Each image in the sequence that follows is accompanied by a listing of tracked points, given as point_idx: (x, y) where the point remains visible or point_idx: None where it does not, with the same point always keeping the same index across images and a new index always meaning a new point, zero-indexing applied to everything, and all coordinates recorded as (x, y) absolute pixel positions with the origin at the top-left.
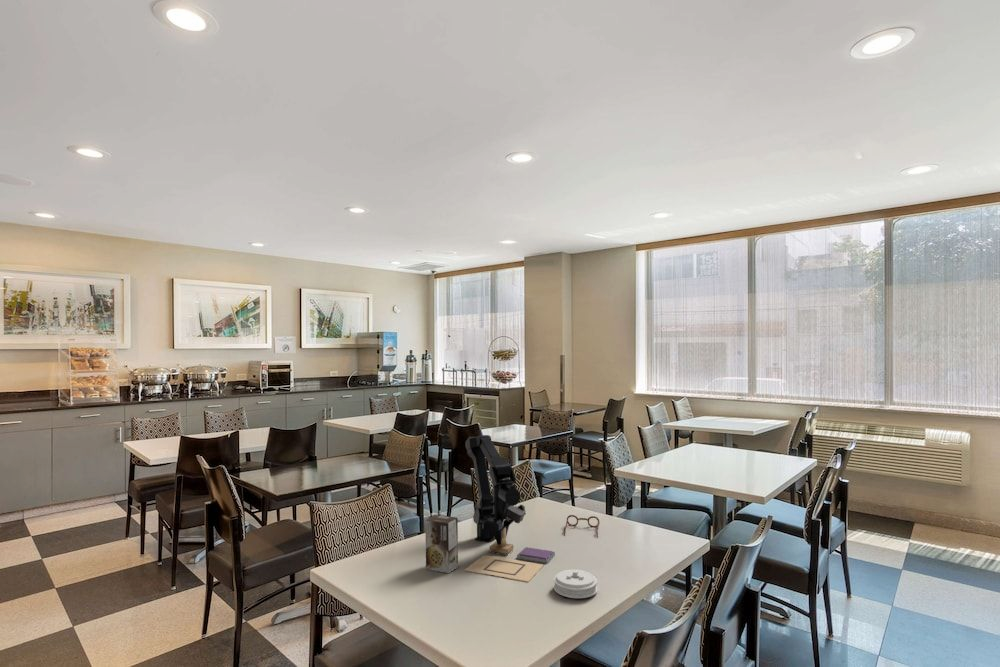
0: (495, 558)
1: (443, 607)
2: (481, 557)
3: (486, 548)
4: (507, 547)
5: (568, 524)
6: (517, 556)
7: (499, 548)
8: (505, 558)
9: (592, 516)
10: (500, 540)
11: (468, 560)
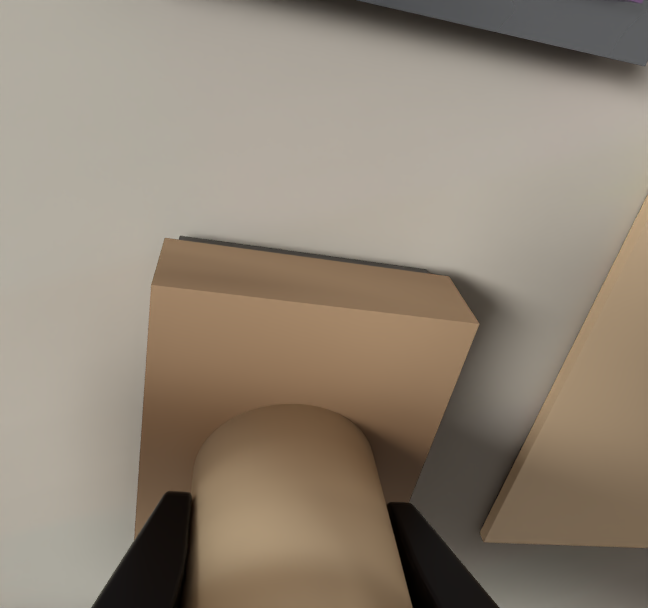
0: (615, 395)
1: None
2: (571, 539)
3: None
4: (374, 354)
5: None
6: (637, 41)
7: (419, 460)
8: (628, 262)
9: None
10: (474, 586)
11: (616, 603)
